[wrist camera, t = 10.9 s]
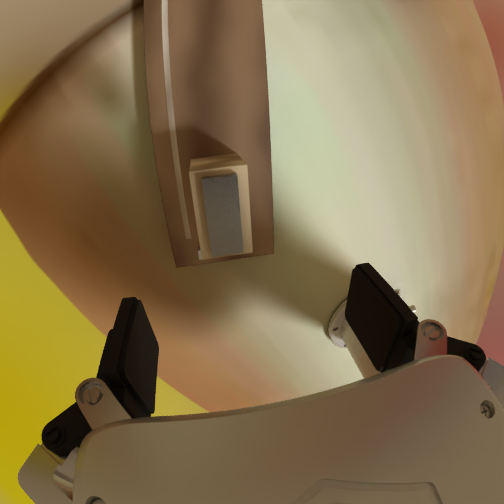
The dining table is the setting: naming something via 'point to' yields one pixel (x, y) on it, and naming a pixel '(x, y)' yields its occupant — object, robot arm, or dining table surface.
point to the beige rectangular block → (221, 205)
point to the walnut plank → (208, 108)
